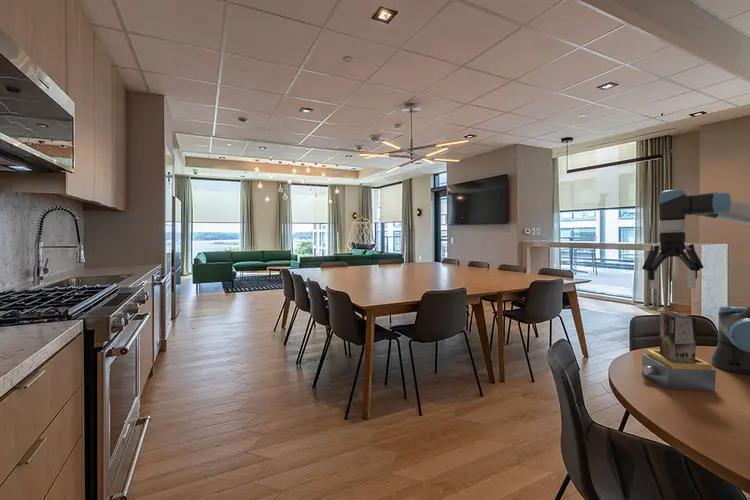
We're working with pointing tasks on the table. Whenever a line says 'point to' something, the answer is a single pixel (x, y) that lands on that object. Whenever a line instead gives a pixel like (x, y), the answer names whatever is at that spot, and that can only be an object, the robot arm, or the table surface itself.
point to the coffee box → (677, 337)
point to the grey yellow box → (678, 372)
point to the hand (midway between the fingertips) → (672, 288)
